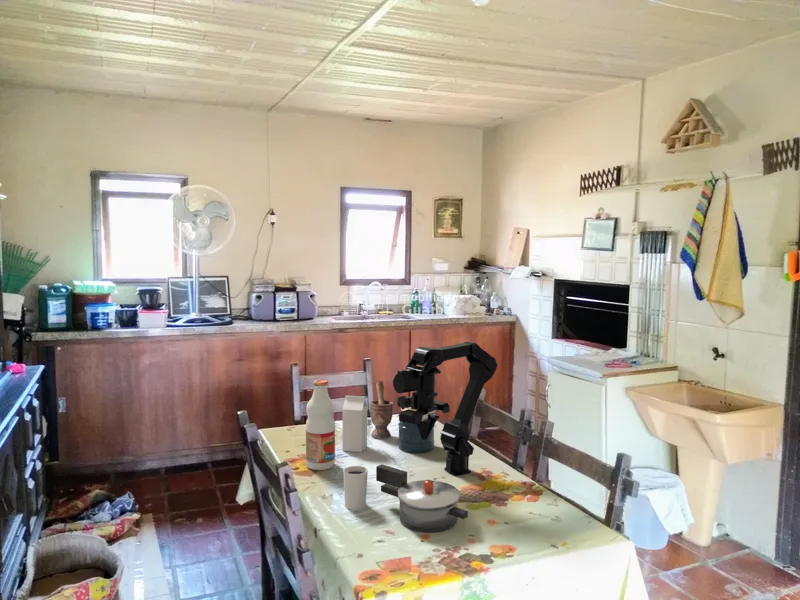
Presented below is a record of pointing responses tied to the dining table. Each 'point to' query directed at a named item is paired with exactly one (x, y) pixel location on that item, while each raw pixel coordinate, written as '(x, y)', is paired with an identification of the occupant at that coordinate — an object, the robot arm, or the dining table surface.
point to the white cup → (355, 487)
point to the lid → (418, 489)
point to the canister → (414, 438)
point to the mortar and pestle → (381, 414)
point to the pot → (426, 515)
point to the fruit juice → (320, 429)
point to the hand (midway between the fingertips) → (424, 439)
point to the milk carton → (354, 424)
